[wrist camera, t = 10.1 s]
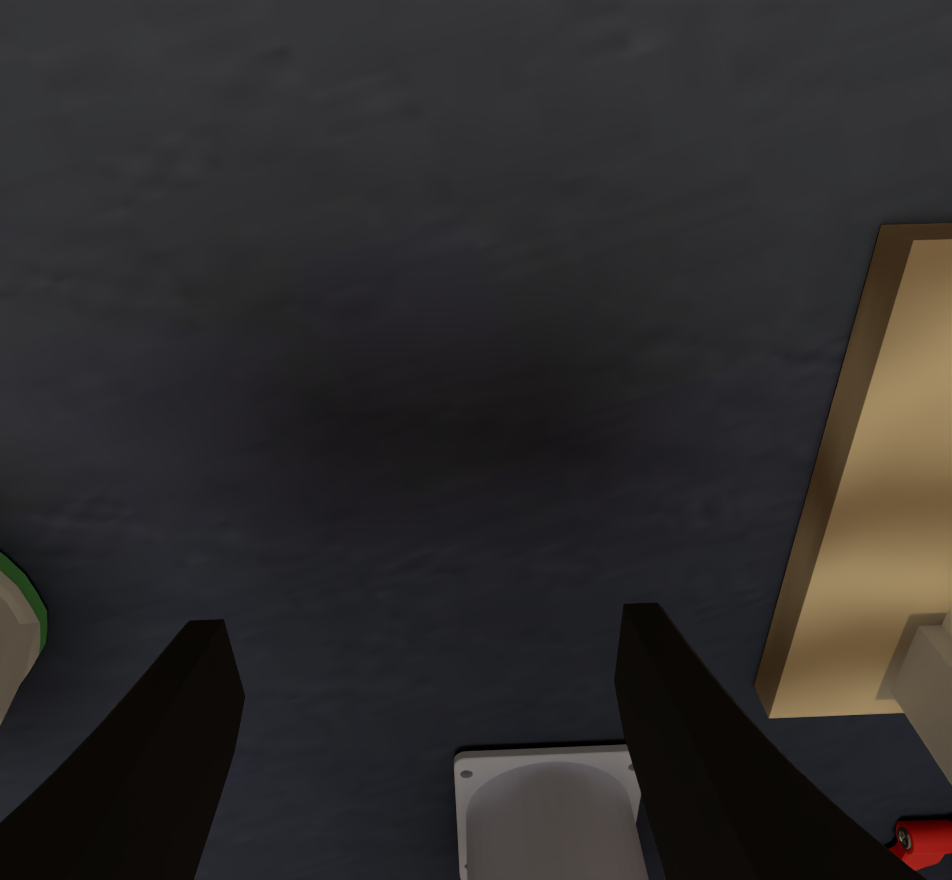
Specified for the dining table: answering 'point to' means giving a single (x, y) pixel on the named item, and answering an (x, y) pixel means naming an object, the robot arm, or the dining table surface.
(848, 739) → the dining table surface
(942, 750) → the door
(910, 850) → the tow hook
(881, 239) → the base board
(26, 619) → the cup
